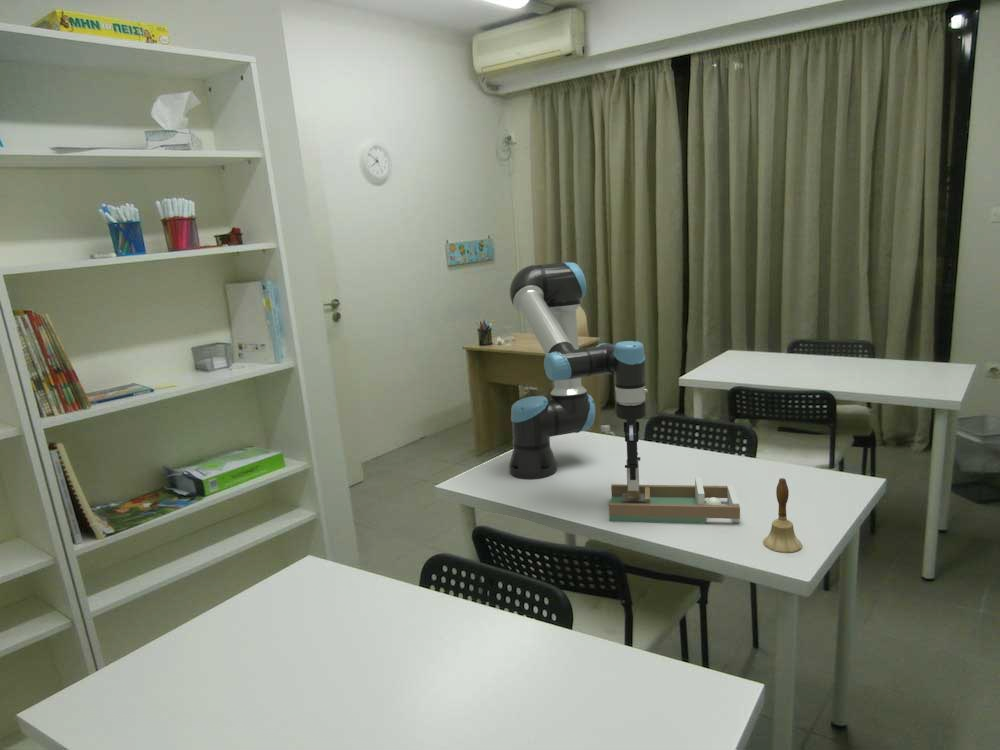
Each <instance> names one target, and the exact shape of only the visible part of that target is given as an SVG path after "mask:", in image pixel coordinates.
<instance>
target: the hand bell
mask: <svg viewBox="0 0 1000 750" xmlns="http://www.w3.org/2000/svg"><path fill="white" fill-rule="evenodd" d="M775 491H776V496H775V497H776V501H777V503H778V518H777V519H773V520H772V521H771V522H772V523H771V528H770V532H769V534H768V535H767V536H766V537H765V538H763V541H762V543H763V546H764V547H766V548H767V549H769V550H771V551H774V552H778V553H786V554H787V553H790V554H791V553H796V552H799V551H801V550H802V548H803V543H802V541H800V540H799V539H798V537H797V536H796V533H795V529H794V524H793V522H792V521H790V520H788V519H787V503H788V500H789V492H790V491H789V486H788V484H787V480H786V478H785V477H783V478H782V477H781V478H779V480H778V483H777V486H776V489H775Z"/></svg>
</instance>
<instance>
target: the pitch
mask: <svg viewBox="0 0 1000 750" xmlns="http://www.w3.org/2000/svg"><path fill="white" fill-rule="evenodd" d="M645 487H650V504H635V503H622V493H627V484H620V483H619V484H618V483H617V484H616V483H613V484H611V487H610V488H611V499H610V502H609V503H608V518H609V520H608V521H609V522H624V523H625V522H626V523H627V522H629V523H631V522H632V523H635V522H636V523H667V524H668V523H669V524H675V523H676V524H702V525H703V524H704V525H705V524H707V519H726V520H727V519H728V520H729V519H730V520H732V523H740V519H741V507H740V502H739V499H738V495H737V492H736V490H735V486H734V485H703V480H702V476H695V477H694V485H691V484H690V485H688V484H686V485H683V484H679V485H678V484H639V494H645ZM711 497H715V498H718V499H726V500H727V505H726V504H722V505H706V502H705V499H709V498H711Z"/></svg>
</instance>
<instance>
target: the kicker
mask: <svg viewBox="0 0 1000 750" xmlns="http://www.w3.org/2000/svg"><path fill="white" fill-rule="evenodd" d="M639 463H640V462H639V461H638V460H637V464H638V485H640V471H639V467H640V466H639ZM626 485H627V493H622V503H635V504H650V487H645V494H639V491H628V473H627V472H626Z"/></svg>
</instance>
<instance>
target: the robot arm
mask: <svg viewBox="0 0 1000 750" xmlns="http://www.w3.org/2000/svg"><path fill="white" fill-rule="evenodd" d="M586 291H587V281H586V278H585V274H584V272H583V270H582V268H581V267H580V266H579V265H578V264H577V263H576V262H562V261H561V262H556V263H554V262H553V263H545V264H532V265H527V266H525V267H523V268H521V269H520V270H519V271H518V272H517V273H516V274H515V275H514V277H513V279H512V281H511V283H510V287H509V299H510V301H511V304H512V305H513V307H514V309H515V310H516V311H517V312H519V313H521V314H522V315H523V317H524V320H525V321H526V322H527V324H528V327H529V328H530V330H531V331H532V333H533V335H534V337H535V338H536V340H537V342H538V344H539V345H540V347H541V348H542V351H543V352H544V354H545V356H544V359H543V360H544V361H543V367H544V368H543V369H544V370H545V375H546V377H547V379H549V380H550V381H552V382H553V383H554V388H553V389H552V390H551V392H550V399H548V398H547V397H546V396H543V395H536V396H533V395H532V396H527V397H524V398H521V399H519V400H517V401H515V402H514V403H513V404H512V405H511V410H510V411H511V413H510V414H511V415H510V421H511V428H512V429H511V430H512V441H513V442H512V446H513V449H512V454H511V458H510V462H509V474H510V475H511V476H514V477H515V478H519V479H528V480H533V479H534V480H535V479H542V478H546V477H550V476H551V475H554V474H555V473H556V472H557V470H558V467H557V465H558V464H557V460H556V458H555V456H554V453H553V449H552V447H551V442H550V441H551V437H552V438H553V437H556V436H562V435H563V436H564V435H568V434H578V433H580V432H584V431H588V430H589V429H591V428H592V426H593V425H594V421H595V419H596V403H595V401H594V398H593V397H592V395H591V394H588V390H587V389H586V387H584V386H583V385H582V378H586V377H595V376H601V375H607V374H608V375H609V374H610V375H613V376H614V382H615V385H614V390H615V391H614V392H615V393H614V394H615V401H616V404H615V412H616V417H617V418H619V419H621V420H624V422H623V432H624V441H625V442H626V465H624V468H625V469H626V474H627V473H628V491H639V485H640V484H639V485H638V464H637V460H638V462H639V461H641V457H640V456H638V455H639V452H638V442H639V440H640V439H639V437H640V436H639V435H640V434H639V432H640V422H639V421H638V420H640V419H643V418H645V417H646V415H647V403H646V402H645V401H646V393H648V392H649V391H648V388H646V355H645V348H644V347H645V346H644V344H643V343H642V342H641V341H633V340H627V341H626V340H625V341H619V342H616V343H615V344H613V343H603V342H602V343H599V344H598V345H596V346H593V347H586V348H580V347H579V335H578V333H579V331H578V322H577V310H578V308H579V307H580V306H581V300H582V299H584V297H586V294H587V293H586Z"/></svg>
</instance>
